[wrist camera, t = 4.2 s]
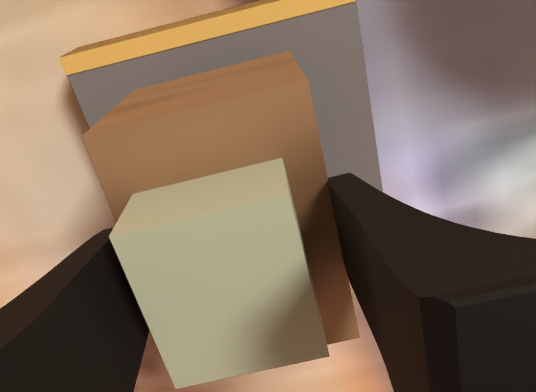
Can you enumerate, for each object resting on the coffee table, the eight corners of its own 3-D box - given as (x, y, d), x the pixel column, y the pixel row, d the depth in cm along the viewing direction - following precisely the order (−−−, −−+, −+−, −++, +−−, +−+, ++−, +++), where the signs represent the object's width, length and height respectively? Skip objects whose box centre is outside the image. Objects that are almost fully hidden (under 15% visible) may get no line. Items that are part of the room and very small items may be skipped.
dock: (374, 196, 21) (386, 218, 19) (158, 245, 22) (150, 271, 20) (341, -21, 17) (353, -19, 15) (77, 47, 18) (59, 57, 16)
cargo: (317, 300, 12) (329, 356, 10) (186, 329, 12) (175, 388, 11) (282, 157, 11) (289, 193, 9) (133, 194, 11) (108, 236, 9)
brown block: (330, 244, 17) (359, 337, 13) (198, 274, 18) (180, 375, 13) (289, 50, 14) (307, 80, 10) (133, 90, 15) (81, 136, 10)
